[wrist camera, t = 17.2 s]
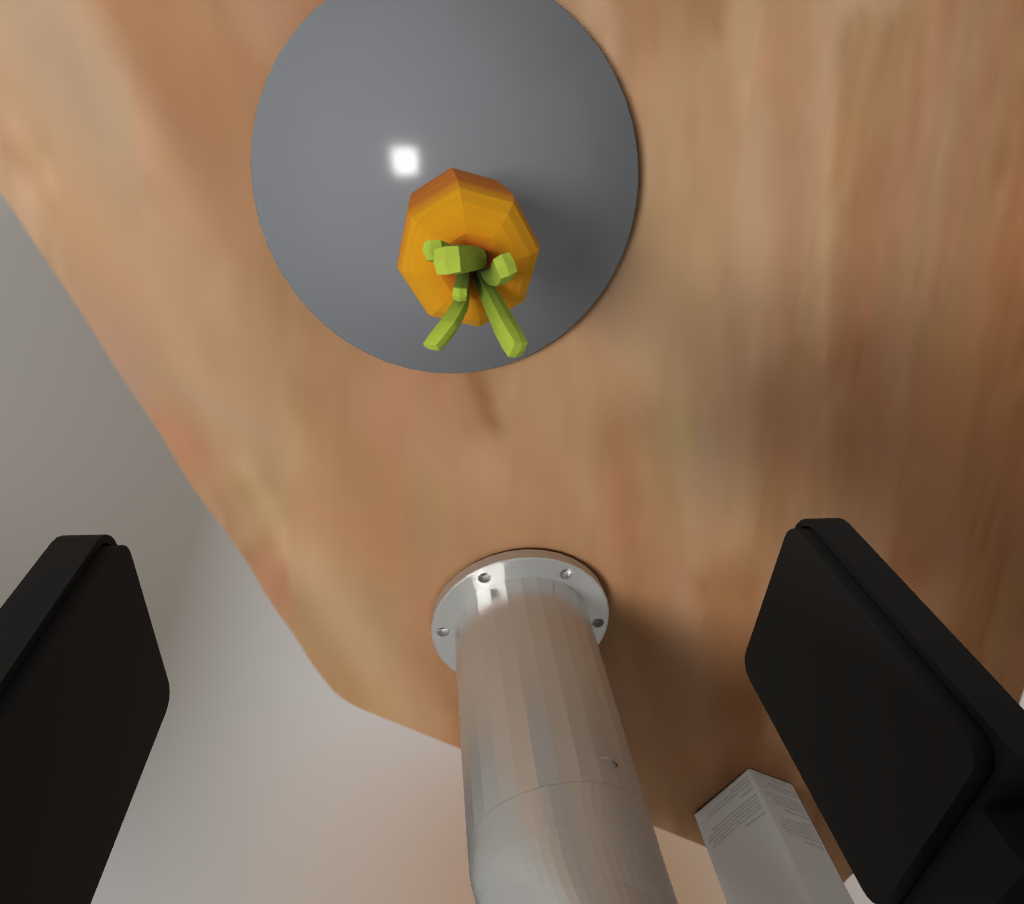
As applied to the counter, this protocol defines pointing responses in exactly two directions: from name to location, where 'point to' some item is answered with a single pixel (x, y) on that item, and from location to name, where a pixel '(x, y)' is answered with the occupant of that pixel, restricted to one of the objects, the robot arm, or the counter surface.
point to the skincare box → (767, 845)
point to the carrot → (468, 256)
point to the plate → (440, 161)
